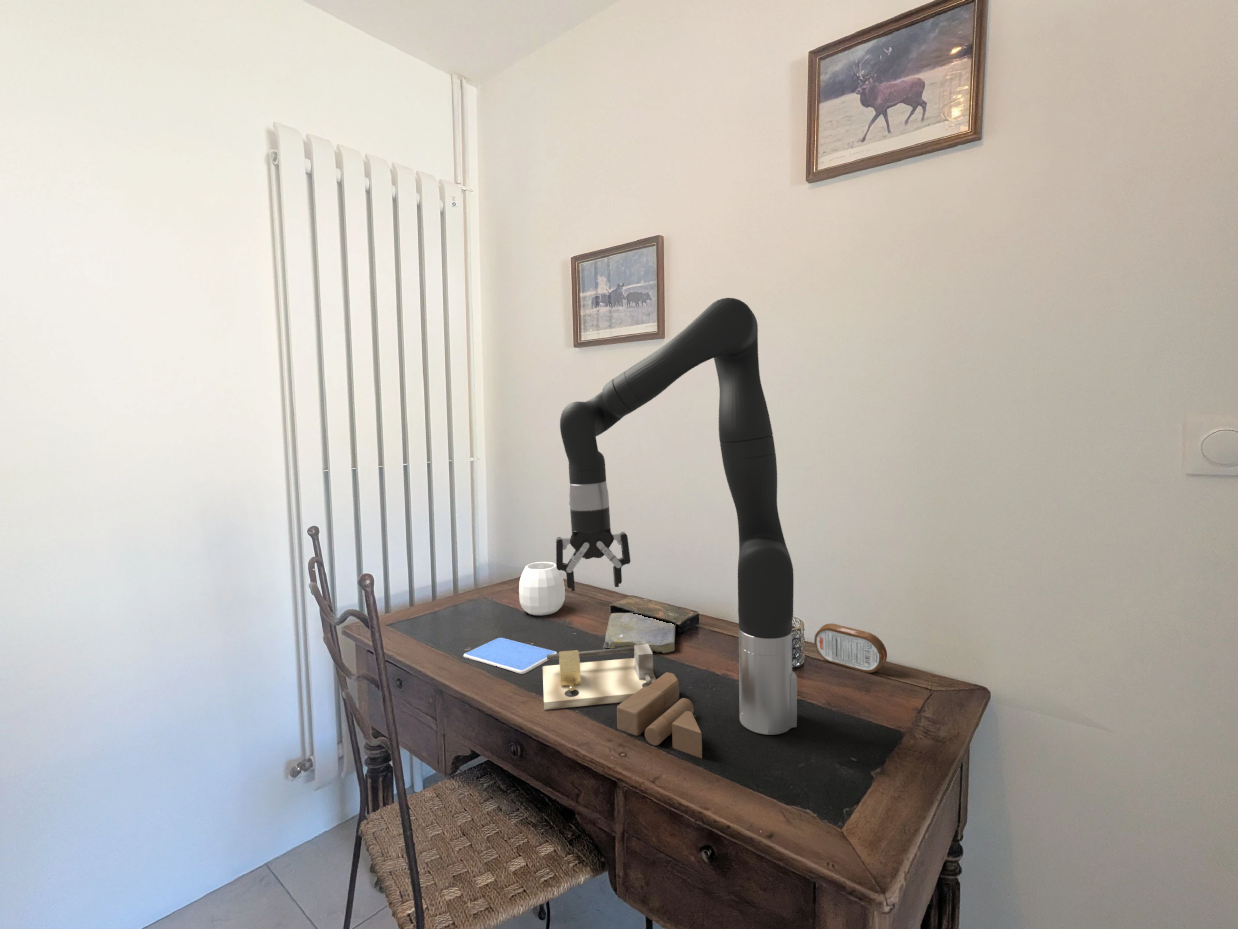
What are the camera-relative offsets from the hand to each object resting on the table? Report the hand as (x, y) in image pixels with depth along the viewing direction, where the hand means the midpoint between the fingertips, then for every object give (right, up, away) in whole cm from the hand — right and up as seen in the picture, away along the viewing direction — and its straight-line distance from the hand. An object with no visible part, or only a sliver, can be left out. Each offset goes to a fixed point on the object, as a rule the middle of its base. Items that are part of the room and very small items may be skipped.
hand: (594, 588), depth 111 cm
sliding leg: (-5, -20, +5) cm, 22 cm away
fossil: (+10, -20, +32) cm, 39 cm away
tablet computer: (-21, -22, +24) cm, 38 cm away
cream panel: (+1, -22, +8) cm, 23 cm away
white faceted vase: (-17, -19, +54) cm, 59 cm away
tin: (+55, -20, +13) cm, 60 cm away
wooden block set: (+16, -23, -7) cm, 29 cm away
